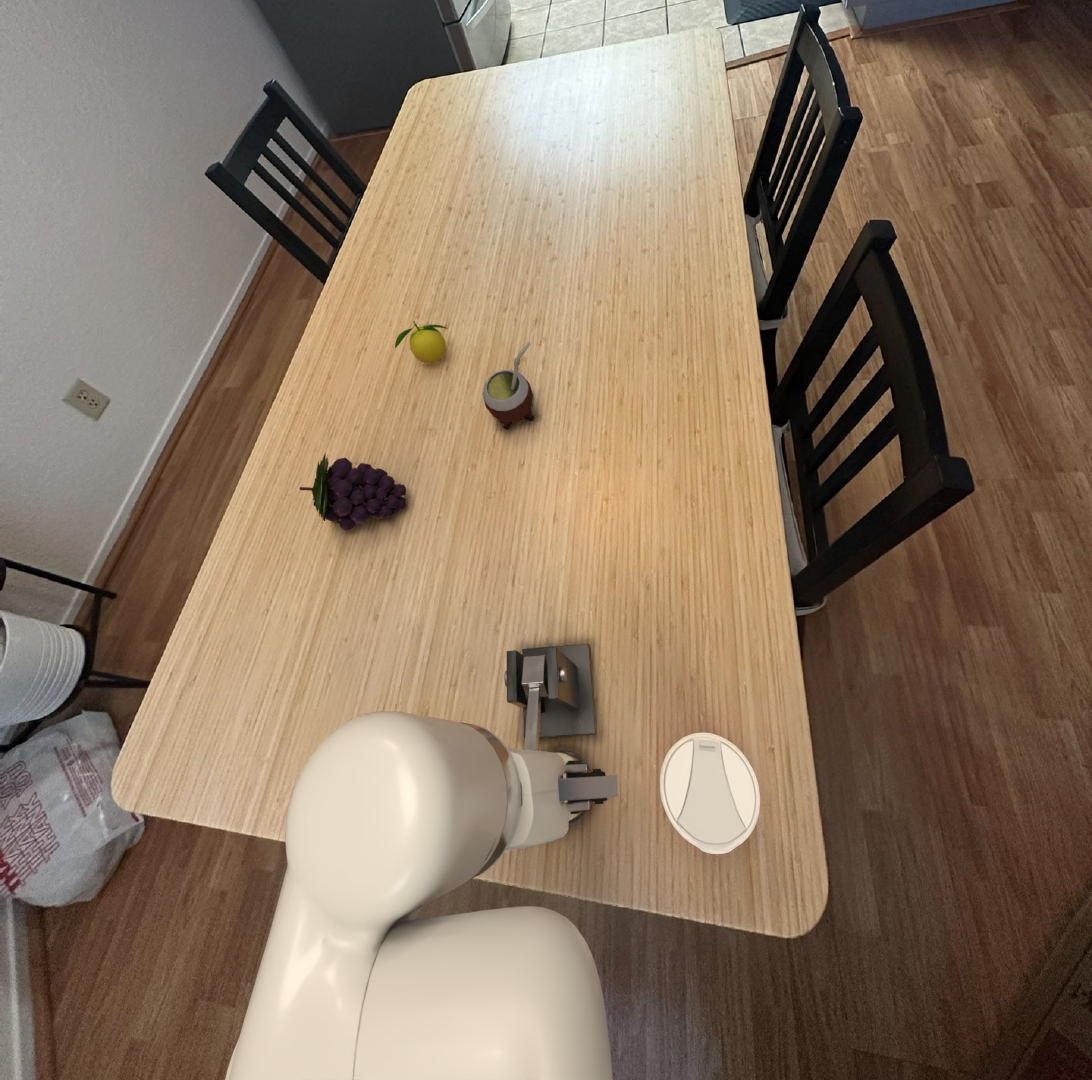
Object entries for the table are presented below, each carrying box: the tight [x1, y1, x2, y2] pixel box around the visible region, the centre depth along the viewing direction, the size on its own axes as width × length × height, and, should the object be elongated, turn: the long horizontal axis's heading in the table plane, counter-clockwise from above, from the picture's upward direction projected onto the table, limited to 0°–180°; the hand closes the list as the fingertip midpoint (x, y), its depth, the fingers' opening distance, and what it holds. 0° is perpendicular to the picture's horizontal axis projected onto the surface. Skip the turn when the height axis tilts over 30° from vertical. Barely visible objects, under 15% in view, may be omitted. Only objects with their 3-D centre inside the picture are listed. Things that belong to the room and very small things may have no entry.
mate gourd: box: [482, 341, 535, 431], centre depth 86 cm, size 8×8×15 cm
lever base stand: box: [503, 643, 598, 739], centre depth 65 cm, size 9×8×15 cm
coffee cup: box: [659, 732, 761, 855], centre depth 57 cm, size 8×8×15 cm
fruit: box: [299, 452, 407, 532], centre depth 85 cm, size 10×11×15 cm
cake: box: [552, 750, 592, 825], centre depth 64 cm, size 6×6×4 cm
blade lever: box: [521, 655, 548, 751], centre depth 56 cm, size 12×5×2 cm, turn 3°
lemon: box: [394, 320, 449, 364], centre depth 97 cm, size 7×6×10 cm
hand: (519, 788), depth 49 cm, fingers open, 9 cm apart
